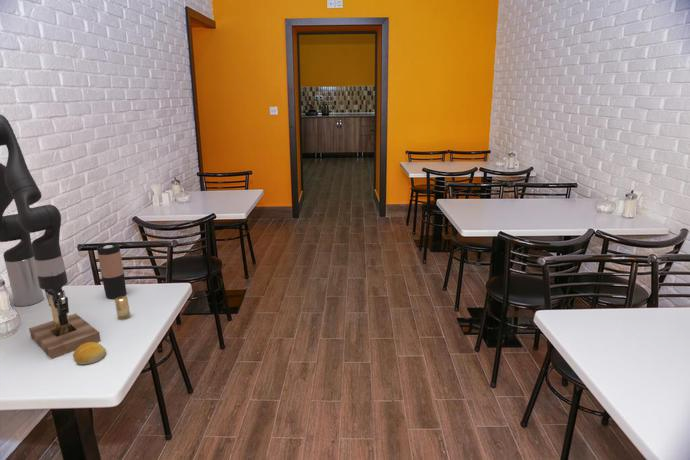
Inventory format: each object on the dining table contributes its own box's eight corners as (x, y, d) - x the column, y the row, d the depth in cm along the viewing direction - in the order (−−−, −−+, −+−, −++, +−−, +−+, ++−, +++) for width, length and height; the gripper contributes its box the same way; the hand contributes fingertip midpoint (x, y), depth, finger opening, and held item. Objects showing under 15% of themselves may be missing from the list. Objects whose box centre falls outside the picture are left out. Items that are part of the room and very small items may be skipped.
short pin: (115, 317, 169) (112, 298, 167) (127, 313, 172) (124, 295, 170) (120, 321, 167) (117, 302, 165) (132, 317, 169) (129, 298, 167)
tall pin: (55, 337, 155) (47, 296, 151) (69, 333, 158) (61, 292, 154) (60, 341, 153) (51, 300, 149) (73, 337, 155) (65, 296, 151)
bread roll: (79, 369, 139) (77, 356, 138) (71, 357, 145) (69, 344, 144) (110, 358, 144) (108, 346, 143) (101, 347, 150) (99, 335, 149)
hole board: (30, 336, 157) (28, 328, 157) (77, 321, 167) (75, 313, 166) (51, 358, 144) (49, 349, 143) (100, 340, 154) (99, 332, 153)
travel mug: (100, 298, 185) (91, 247, 180) (116, 290, 192) (108, 241, 187) (116, 300, 183) (107, 249, 177) (131, 292, 189) (123, 243, 184)
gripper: (30, 269, 151) (41, 319, 156) (44, 280, 142) (56, 334, 147) (56, 262, 156) (66, 311, 161) (72, 273, 147) (82, 325, 152)
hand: (61, 322), depth 154 cm, fingers closed on tall pin, 4 cm apart
